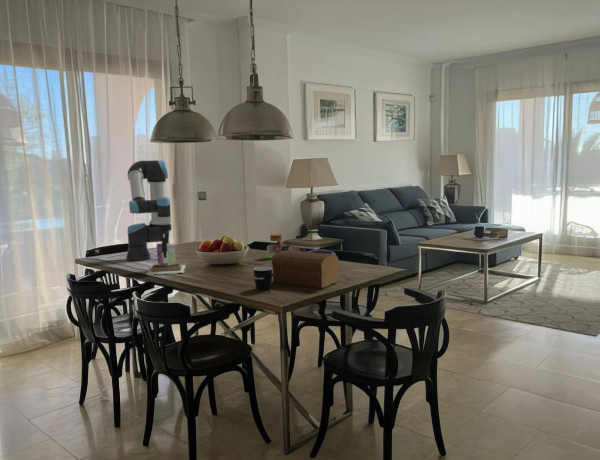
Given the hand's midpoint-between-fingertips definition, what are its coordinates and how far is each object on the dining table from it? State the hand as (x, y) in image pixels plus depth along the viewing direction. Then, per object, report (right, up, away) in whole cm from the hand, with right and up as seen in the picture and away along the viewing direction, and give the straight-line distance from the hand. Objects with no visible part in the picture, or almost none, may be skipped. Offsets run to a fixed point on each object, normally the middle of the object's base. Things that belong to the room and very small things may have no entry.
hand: (166, 261), depth 303 cm
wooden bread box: (+81, -9, -35) cm, 89 cm away
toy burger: (+63, 0, +37) cm, 73 cm away
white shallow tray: (0, -6, +1) cm, 6 cm away
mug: (+61, -11, -49) cm, 79 cm away
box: (0, -2, 0) cm, 2 cm away
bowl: (+90, -5, -2) cm, 90 cm away
